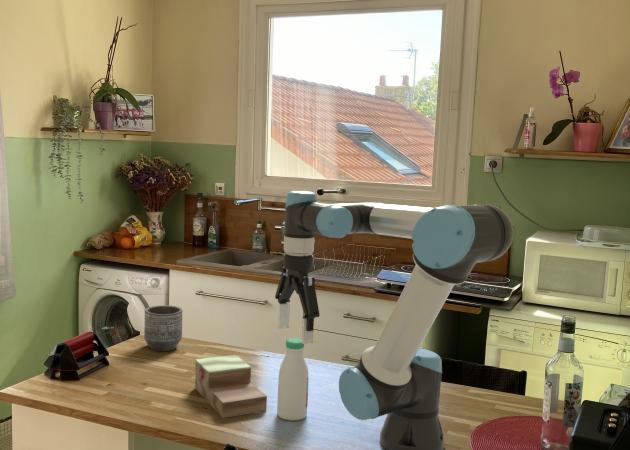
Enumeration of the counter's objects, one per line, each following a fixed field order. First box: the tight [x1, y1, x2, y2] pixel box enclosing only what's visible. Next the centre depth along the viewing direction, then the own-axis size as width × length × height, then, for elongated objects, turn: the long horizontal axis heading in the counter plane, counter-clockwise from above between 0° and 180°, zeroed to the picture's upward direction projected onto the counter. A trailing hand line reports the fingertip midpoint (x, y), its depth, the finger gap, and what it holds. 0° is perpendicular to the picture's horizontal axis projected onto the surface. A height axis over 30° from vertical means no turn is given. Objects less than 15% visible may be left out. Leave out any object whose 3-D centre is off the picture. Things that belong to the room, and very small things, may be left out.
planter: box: [143, 304, 183, 352], centre depth 232 cm, size 12×12×13 cm
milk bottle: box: [276, 337, 309, 422], centre depth 181 cm, size 8×8×20 cm
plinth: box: [194, 354, 268, 419], centre depth 190 cm, size 22×13×8 cm, turn 28°
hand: (294, 335), depth 179 cm, fingers open, 13 cm apart
